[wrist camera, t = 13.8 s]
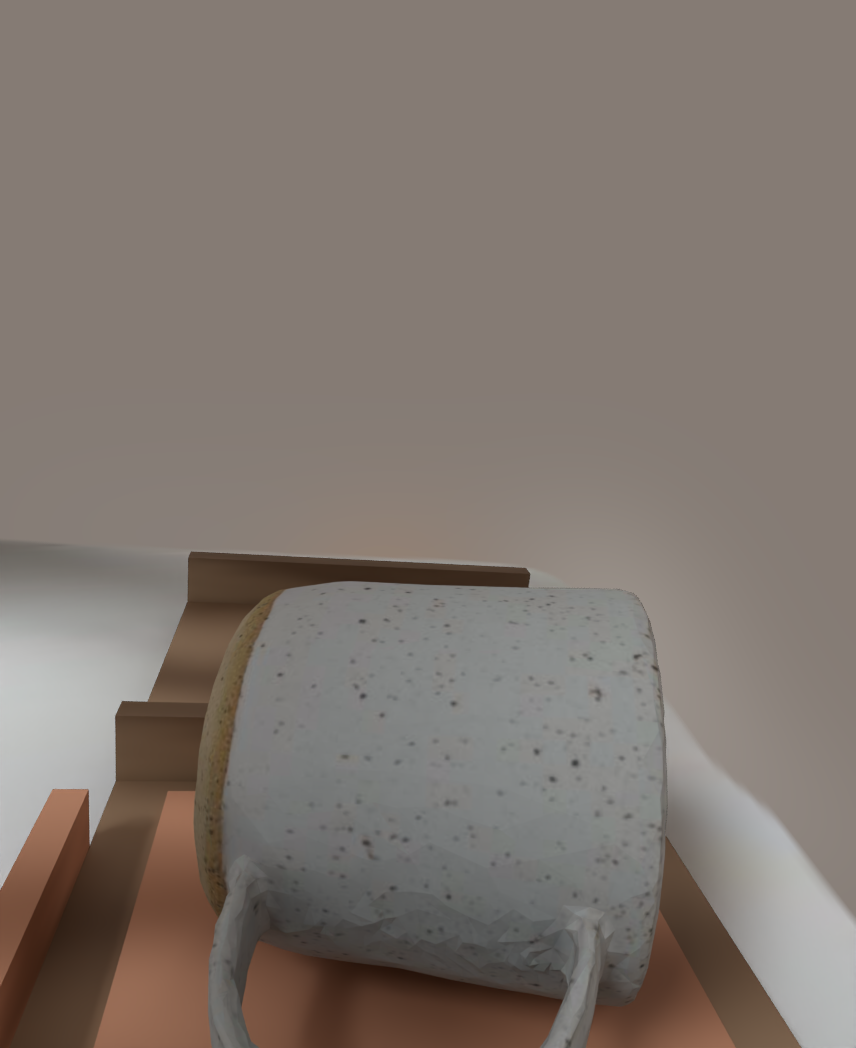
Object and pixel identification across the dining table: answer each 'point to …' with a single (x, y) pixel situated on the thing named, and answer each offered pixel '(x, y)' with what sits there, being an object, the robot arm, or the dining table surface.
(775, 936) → the dining table surface
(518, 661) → the ceramic mug
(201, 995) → the rack
